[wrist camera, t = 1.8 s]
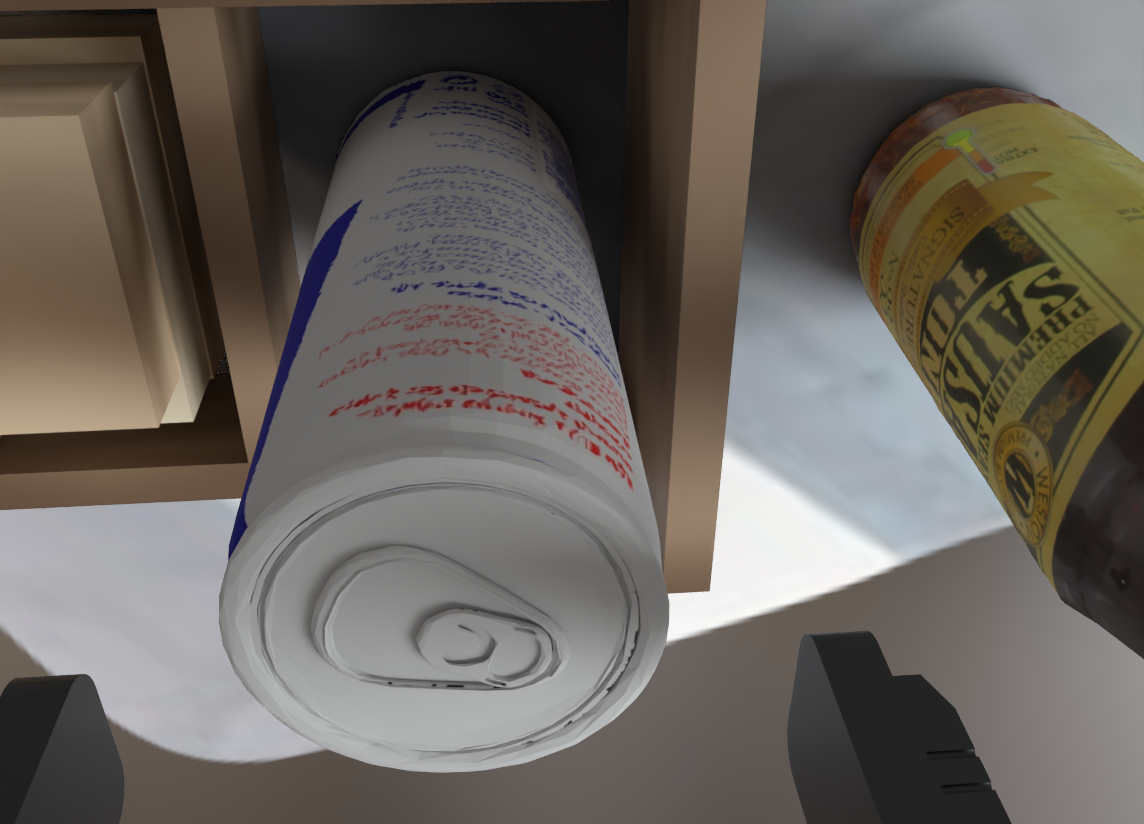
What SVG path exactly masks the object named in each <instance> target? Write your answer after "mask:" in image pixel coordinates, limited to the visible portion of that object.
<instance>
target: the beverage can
mask: <svg viewBox="0 0 1144 824" xmlns="http://www.w3.org/2000/svg"><path fill="white" fill-rule="evenodd" d="M219 624H220V630H221V636H222V642H223V646H224V648H225V651H226V653H227V655H228V657H229V660H230V662H231V664H232V667H233V669H234V671H235V673H236V675H237V676H238V677H239V679H240V680H241V682H242V683H243V685H244V686H245V688H246V689H247V691H248V692H249V693H250V694H251V695H252V696H253V697H254V698H255V699H256V700H257V701H258V702H259V703H260V704H261V705H262V706H263V707H264V708H265V709H266V710H268V711H269V712H270V713H271V714H272V715H273V716H275V717H276V718H277V719H278V720H279V721H281V722H282V723H283V724H285V725H286V726H287V727H289V728H290V729H291V730H293V731H294V732H295V733H297V734H299V735H301V736H303V737H304V738H306V739H308V740H310V741H312V742H314V743H316V744H318V745H320V746H321V747H324V748H326V749H329V750H332V751H334V752H337V753H340V754H342V755H345V756H348V757H351V758H354V759H357V760H360V761H363V762H366V763H369V764H374V765H379V766H385V767H391V768H397V769H403V770H408V771H424V772H466V771H479V770H488V769H493V768H499V767H504V766H510V765H516V764H521V763H526V762H529V761H532V760H535V759H537V758H540V757H543V756H545V755H548V754H551V753H554V752H556V751H559V750H562V749H564V748H567V747H570V746H572V745H575V744H577V743H578V742H580V741H582V740H583V739H585V738H586V737H588V736H589V735H591V734H593V733H594V732H596V731H597V730H599V729H600V728H602V727H603V726H605V725H607V724H608V723H609V722H611V721H612V720H614V719H615V718H616V717H617V716H618V715H619V714H620V713H622V712H623V711H624V710H625V709H626V707H628V706H629V705H630V704H631V703H632V702H633V701H634V700H635V699H636V698H637V697H638V695H639V694H640V693H641V691H642V690H643V688H644V687H645V686H646V685H647V683H648V681H649V679H650V678H651V676H652V674H653V673H654V671H655V669H656V666H657V664H658V662H659V660H660V658H661V655H662V652H663V650H664V647H665V645H666V639H667V632H668V625H669V600H668V594H667V589H666V584H665V580H664V575H663V572H662V563H661V548H660V539H659V533H658V527H657V522H656V518H655V514H654V510H653V505H652V501H651V497H650V492H649V488H648V484H647V480H646V475H645V471H644V467H643V462H642V458H641V454H640V450H639V445H638V441H637V437H636V432H635V428H634V424H633V420H632V415H631V411H630V407H629V402H628V398H627V394H626V390H625V385H624V381H623V377H622V372H621V368H620V364H619V360H618V355H617V351H616V347H615V342H614V338H613V334H612V330H611V325H610V321H609V317H608V312H607V308H606V304H605V300H604V295H603V291H602V287H601V282H600V278H599V274H598V270H597V265H596V261H595V257H594V252H593V248H592V244H591V240H590V235H589V231H588V227H587V222H586V218H585V214H584V210H583V205H582V201H581V197H580V192H579V188H578V184H577V180H576V175H575V171H574V167H573V163H572V158H571V155H570V152H569V149H568V147H567V145H566V142H565V140H564V138H563V136H562V134H561V133H560V131H559V129H558V128H557V126H556V125H555V123H554V122H553V121H552V119H551V118H550V117H549V115H548V114H547V113H546V112H545V111H544V110H543V109H542V108H541V107H540V106H539V105H538V104H537V103H536V102H534V101H533V100H532V99H531V98H530V97H528V96H527V95H525V94H524V93H523V92H521V91H519V90H518V89H516V88H514V87H513V86H511V85H508V84H506V83H504V82H502V81H500V80H497V79H494V78H491V77H488V76H484V75H480V74H475V73H470V72H459V71H445V72H434V73H429V74H423V75H418V76H415V77H412V78H410V79H407V80H405V81H402V82H399V83H397V84H395V85H393V86H392V87H390V88H388V89H386V90H385V91H383V92H382V93H380V94H379V95H378V96H376V97H375V98H374V99H373V100H372V101H370V102H369V103H368V104H367V105H366V106H365V107H364V108H363V109H362V110H361V111H360V113H359V114H358V115H357V116H356V118H355V119H354V120H353V122H352V123H351V125H350V127H349V128H348V130H347V132H346V134H345V135H344V137H343V140H342V143H341V145H340V148H339V151H338V154H337V158H336V164H335V168H334V171H333V175H332V178H331V182H330V186H329V189H328V193H327V196H326V200H325V203H324V207H323V210H322V214H321V218H320V221H319V225H318V228H317V232H316V235H315V239H314V242H313V246H312V250H311V253H310V257H309V260H308V264H307V267H306V271H305V274H304V278H303V281H302V285H301V289H300V292H299V296H298V299H297V303H296V306H295V310H294V313H293V317H292V321H291V324H290V328H289V331H288V335H287V338H286V342H285V345H284V349H283V353H282V356H281V360H280V363H279V367H278V370H277V374H276V377H275V381H274V384H273V388H272V392H271V395H270V399H269V402H268V406H267V409H266V413H265V416H264V420H263V424H262V427H261V431H260V434H259V438H258V441H257V445H256V448H255V452H254V456H253V459H252V463H251V466H250V470H249V473H248V477H247V480H246V484H245V488H244V491H243V495H242V498H241V502H240V505H239V509H238V512H237V516H236V520H235V524H234V528H233V532H232V536H231V540H230V544H229V555H228V565H227V568H226V572H225V575H224V579H223V583H222V587H221V591H220V595H219Z"/></svg>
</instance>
